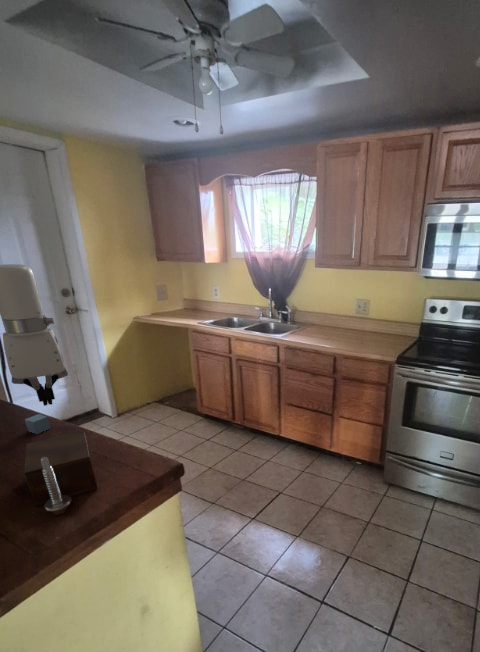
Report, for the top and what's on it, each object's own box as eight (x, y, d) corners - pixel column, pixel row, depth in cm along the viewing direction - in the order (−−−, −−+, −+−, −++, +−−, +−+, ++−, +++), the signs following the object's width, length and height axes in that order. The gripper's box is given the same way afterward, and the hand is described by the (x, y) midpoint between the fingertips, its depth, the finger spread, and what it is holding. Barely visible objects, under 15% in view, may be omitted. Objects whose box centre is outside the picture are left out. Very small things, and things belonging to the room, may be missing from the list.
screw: (54, 522, 73) (41, 513, 76) (78, 508, 77) (65, 500, 79) (36, 466, 68) (23, 459, 70) (63, 454, 72) (49, 448, 74)
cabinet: (37, 475, 88) (26, 443, 84) (91, 461, 94) (84, 431, 90) (35, 507, 77) (24, 472, 74) (97, 489, 83) (89, 456, 80)
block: (36, 434, 106) (33, 422, 104) (28, 431, 107) (24, 419, 106) (50, 428, 109) (47, 416, 107) (42, 425, 111) (38, 413, 109)
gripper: (65, 319, 86) (83, 391, 94) (-16, 325, 79) (10, 404, 86) (66, 325, 80) (85, 402, 88) (-21, 332, 73) (7, 416, 80)
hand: (48, 403), depth 87 cm, fingers closed
